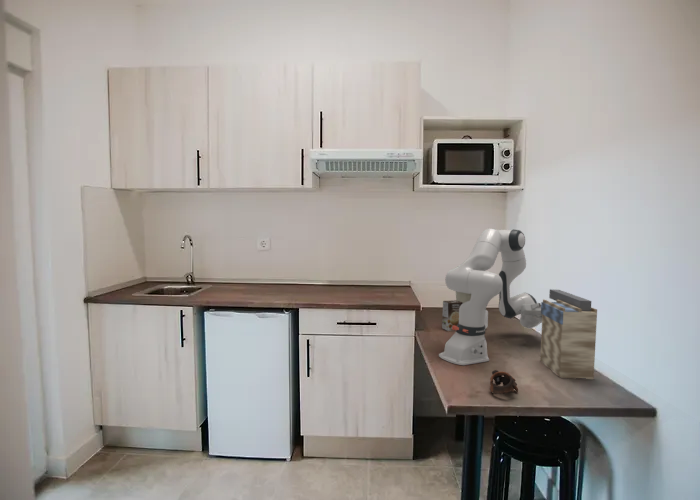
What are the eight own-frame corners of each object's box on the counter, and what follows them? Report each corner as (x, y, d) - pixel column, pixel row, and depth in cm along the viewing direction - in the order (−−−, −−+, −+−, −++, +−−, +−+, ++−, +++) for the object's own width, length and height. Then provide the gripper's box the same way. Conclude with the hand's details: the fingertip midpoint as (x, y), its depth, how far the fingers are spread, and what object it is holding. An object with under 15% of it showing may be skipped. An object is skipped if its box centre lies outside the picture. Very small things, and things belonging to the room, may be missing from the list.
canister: (488, 317, 235) (489, 285, 234) (465, 319, 229) (466, 286, 227) (470, 311, 252) (471, 281, 251) (448, 313, 246) (449, 282, 244)
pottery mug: (526, 397, 124) (521, 381, 121) (502, 410, 124) (496, 394, 120) (504, 375, 135) (499, 359, 132) (482, 387, 135) (477, 371, 132)
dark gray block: (590, 311, 139) (591, 301, 139) (580, 311, 140) (580, 300, 139) (558, 298, 165) (558, 289, 165) (549, 298, 166) (549, 289, 165)
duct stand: (538, 360, 158) (541, 299, 156) (569, 362, 157) (572, 300, 155) (558, 377, 140) (561, 308, 138) (593, 379, 139) (597, 309, 137)
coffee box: (448, 331, 202) (448, 303, 201) (441, 328, 208) (442, 300, 207) (462, 330, 205) (462, 302, 204) (455, 327, 211) (456, 299, 210)
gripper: (515, 306, 184) (525, 297, 172) (557, 308, 182) (570, 299, 170) (517, 318, 181) (527, 310, 169) (560, 320, 179) (573, 312, 167)
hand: (549, 304), depth 169 cm, fingers open, 8 cm apart
